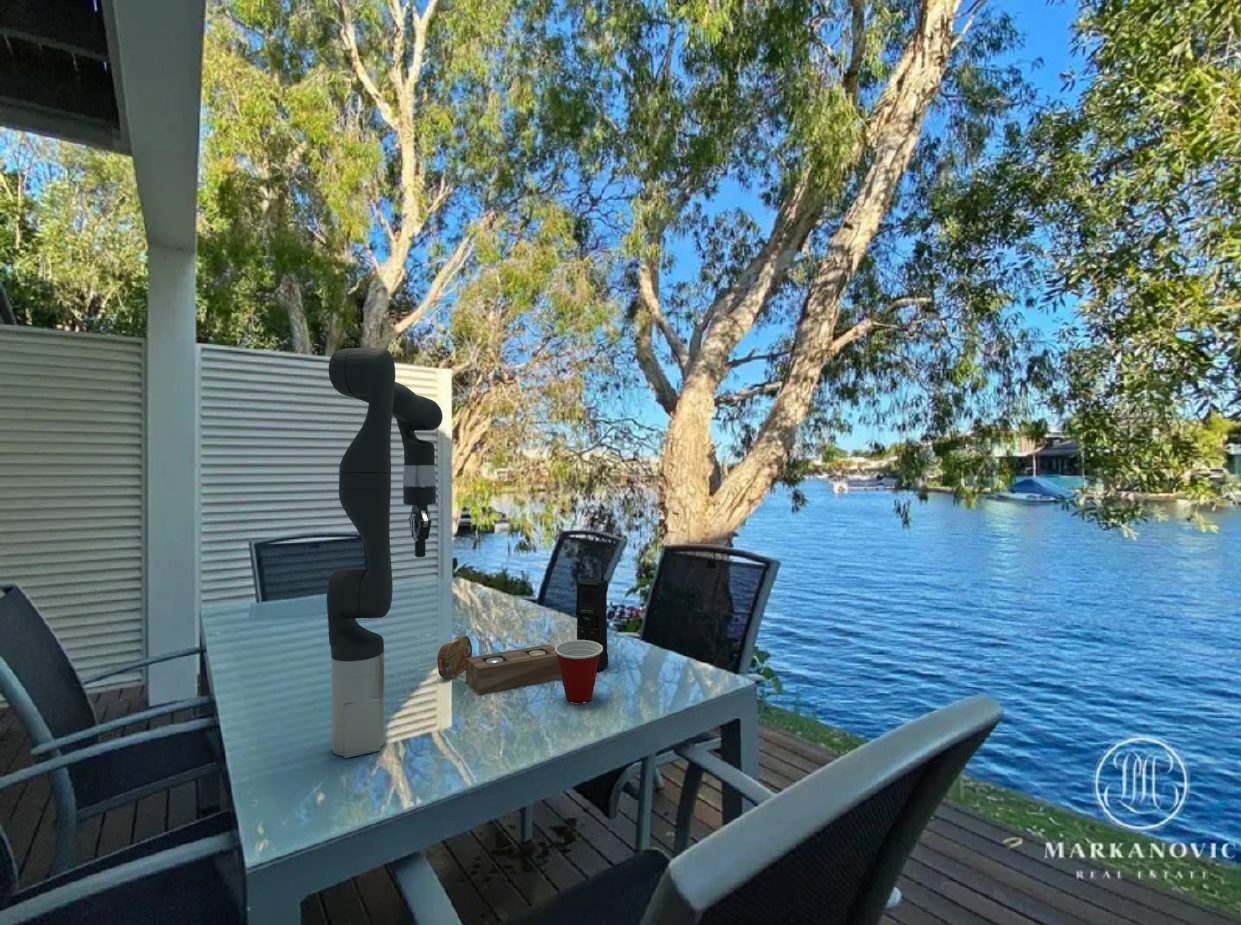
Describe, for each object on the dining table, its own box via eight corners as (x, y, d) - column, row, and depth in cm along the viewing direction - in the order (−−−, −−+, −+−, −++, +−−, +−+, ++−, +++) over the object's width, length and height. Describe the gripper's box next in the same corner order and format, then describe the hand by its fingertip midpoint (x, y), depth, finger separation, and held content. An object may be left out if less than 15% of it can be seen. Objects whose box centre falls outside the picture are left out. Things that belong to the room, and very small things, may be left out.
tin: (447, 683, 156) (446, 648, 156) (435, 682, 157) (434, 647, 157) (473, 664, 171) (473, 632, 171) (462, 663, 171) (462, 632, 172)
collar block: (566, 678, 159) (565, 653, 159) (479, 695, 147) (479, 668, 148) (549, 667, 167) (548, 644, 167) (465, 682, 156) (465, 657, 156)
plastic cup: (559, 711, 137) (559, 655, 137) (551, 694, 148) (550, 641, 148) (609, 705, 140) (608, 650, 140) (597, 689, 150) (596, 638, 151)
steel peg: (505, 683, 154) (505, 660, 154) (489, 686, 152) (489, 663, 152) (499, 678, 157) (499, 656, 157) (484, 681, 155) (483, 659, 155)
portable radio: (571, 668, 166) (570, 571, 166) (583, 662, 171) (582, 568, 171) (598, 673, 162) (597, 573, 162) (609, 666, 168) (608, 570, 168)
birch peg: (547, 675, 160) (547, 653, 160) (532, 678, 157) (532, 655, 158) (541, 671, 163) (541, 649, 163) (526, 673, 161) (526, 651, 161)
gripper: (397, 484, 159) (398, 554, 158) (409, 485, 147) (410, 561, 147) (428, 483, 162) (429, 552, 162) (442, 484, 151) (443, 558, 151)
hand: (420, 556), depth 155 cm, fingers closed
